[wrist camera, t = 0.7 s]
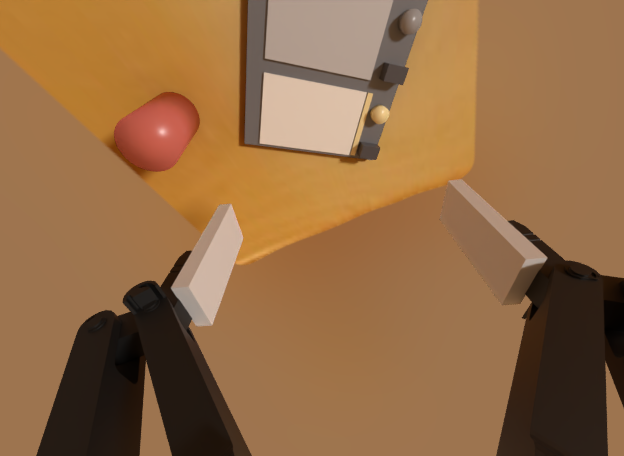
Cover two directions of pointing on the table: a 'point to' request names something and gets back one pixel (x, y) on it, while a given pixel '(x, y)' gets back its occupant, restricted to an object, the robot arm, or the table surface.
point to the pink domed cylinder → (157, 131)
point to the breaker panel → (326, 72)
